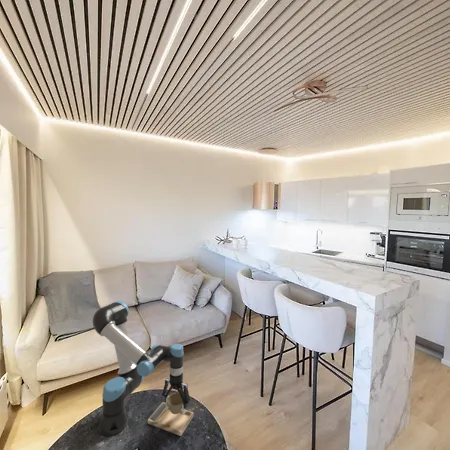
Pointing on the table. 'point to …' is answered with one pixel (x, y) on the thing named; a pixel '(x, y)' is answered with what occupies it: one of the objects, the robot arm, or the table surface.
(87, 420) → the table surface
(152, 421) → the wooden tray
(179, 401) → the flower pot
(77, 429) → the table surface
